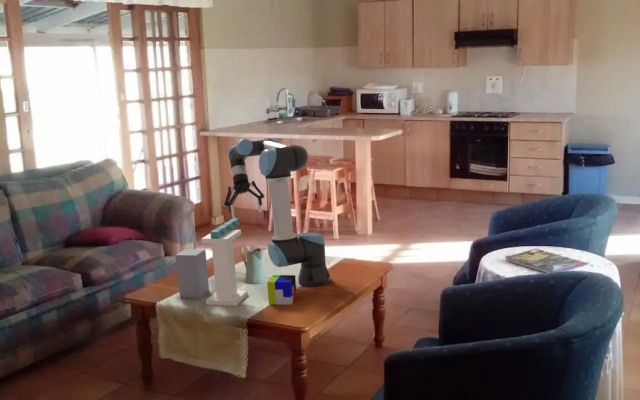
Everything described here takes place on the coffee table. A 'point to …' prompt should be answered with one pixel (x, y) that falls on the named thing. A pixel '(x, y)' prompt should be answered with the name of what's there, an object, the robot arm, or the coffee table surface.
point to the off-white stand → (224, 270)
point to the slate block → (192, 273)
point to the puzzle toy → (281, 289)
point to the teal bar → (224, 228)
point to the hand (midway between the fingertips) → (247, 215)
